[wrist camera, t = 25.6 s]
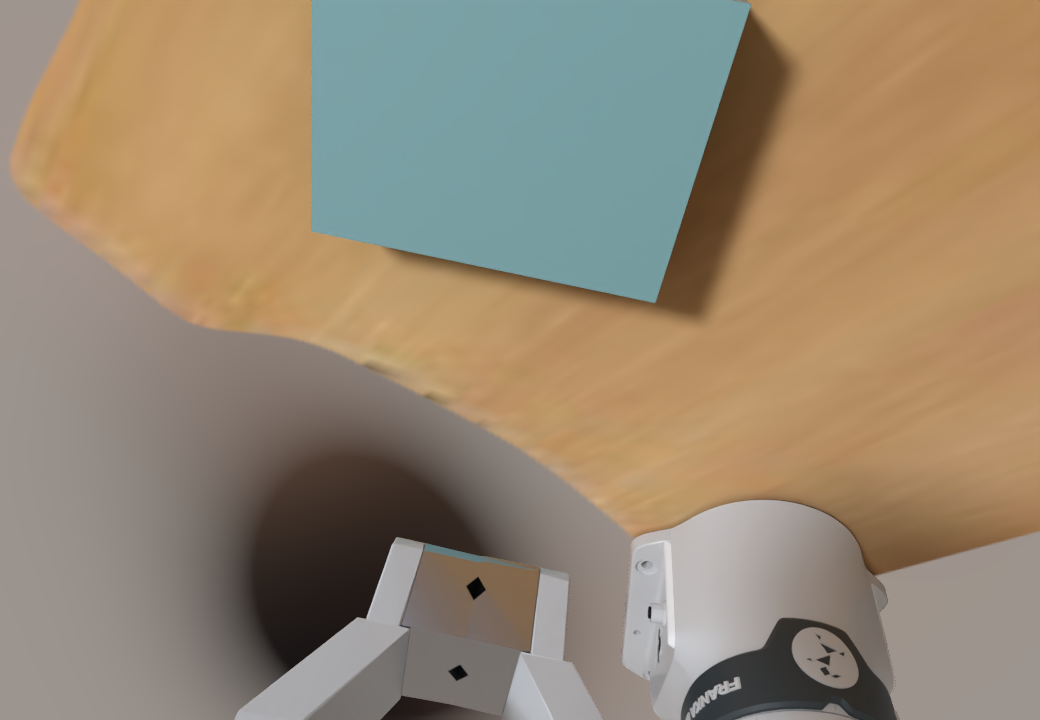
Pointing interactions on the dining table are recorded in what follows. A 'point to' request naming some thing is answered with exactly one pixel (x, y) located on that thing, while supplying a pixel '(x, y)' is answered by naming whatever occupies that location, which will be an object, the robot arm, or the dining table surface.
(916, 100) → the dining table surface
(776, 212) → the dining table surface
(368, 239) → the panel
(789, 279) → the dining table surface
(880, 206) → the dining table surface
